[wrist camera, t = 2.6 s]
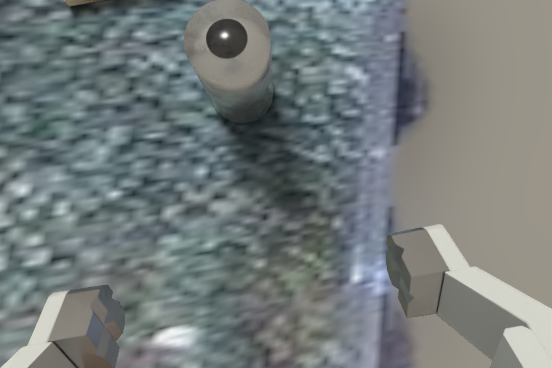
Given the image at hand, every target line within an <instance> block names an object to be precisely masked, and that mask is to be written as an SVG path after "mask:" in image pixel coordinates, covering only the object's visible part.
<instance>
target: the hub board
mask: <svg viewBox="0 0 552 368" xmlns="http://www.w3.org/2000/svg"><path fill="white" fill-rule="evenodd" d="M64 1H65V2H66V3H67V4H68V5H69V6H75V5H80V4H86V3H92V2H98V1H103V0H64Z"/></svg>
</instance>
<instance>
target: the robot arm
mask: <svg viewBox="0 0 552 368" xmlns="http://www.w3.org/2000/svg"><path fill="white" fill-rule="evenodd" d="M387 245H388V248H389V251H388V252H387V253H386V265H387V271H388V274H389V277H390V280H391V282H392V285H393V286H395V287H396V288H398V289H399V293H398V299H399V301H400V304H401V306H402V308H403V310H404V313H405V315H406V317H407V318H411V317H418V316H424V315H431V314H437V315H438V316H439V317H440V318H441V319H442V320H443V321H445V322H446V323H447V324H448V325H449V326H451V327H452V328H453V329H454V330H456V331H457V332H458V333H459V334H460V335H462V336H463V337H464V338H465V339H466V340H468V341H469V342H470V343H471V344H473V345H474V346H475V347H476V348H477V349H479V350H480V351H481V352H482V353H483V354H485V355H486V356H487V357H488V358H490V359H491V360H492V364H491V366H490V368H552V309H551V308H549V307H547V306H545V305H544V304H542V303H540V302H538V301H536V300H535V299H533V298H531V297H529V296H528V295H526V294H524V293H522V292H520V291H519V290H517V289H515V288H513V287H511V286H510V285H508V284H506V283H504V282H503V281H501V280H499V279H497V278H495V277H494V276H492V275H490V274H488V273H486V272H485V271H483V270H481V269H479V268H478V267H470V266H469V264H468V263H467V261H466V260H465V258H464V257H463V255H462V253H461V252H460V251H459V249H458V248H457V246H456V244H455V243H454V241H453V240H452V238H451V237H450V235H449V234H448V232H447V231H446V229H445V228H444V226H442V225H441V224H439V225H434V226H428V227H423V228H416V229H411V230H406V231H400V232H395V233H390V234H388V236H387ZM112 293H113V291H112V290H111V289H110V287H109V286H108V285H101V286H94V287H88V288H81V289H74V290H69V291H63V292H57V293H53V294H52V295H51V296H50V297H48V299H47V302H46V304H45V306H44V309H43V311H42V313H41V315H40V318H39V320H38V322H37V325H36V327H35V329H34V332H33V334H32V336H31V339H30V341H29V343H28V346H26V347H22V348H21V349H20V350H19V351H18V352H17V353H16V354H14V355H13V356H12V357H11V358H10V359H9V360H8V361H7V362H6V363H5V364H4V365H3V366H2V367H1V368H115V365H116V361H117V357H118V352H119V348H120V347H119V346H118V344H117V342H116V341H117V339H118V338H119V337H120V336H121V335H122V334H123V330H124V325H125V315H124V311H123V307H122V305H121V304H120V302H119V301H117V300H115V299H113V298H111V297H112Z"/></svg>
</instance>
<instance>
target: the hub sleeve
mask: <svg viewBox="0 0 552 368" xmlns="http://www.w3.org/2000/svg"><path fill="white" fill-rule="evenodd" d="M184 47H185V52H186V54H187V57H188V59H189V61H190V62H191V64H192V66H193V68H194V70H195V72H196V73H197V75H198V77H199V79H200V81H201V83H202V85H203V86H204V88H205V90H206V92H207V94H208V96H209V98H210V99H211V101H212V103H213V105H214V107H215V109H216V110H217V112H218V113H219V114H220V115H221V116H222V117H223V118H225V119H227V120H228V121H231V122H234V123H241V124H244V123H250V122H253V121H256V120H258V119H259V118H261V117H262V116H263V115H264V114H265V113H266V112H267V111H268V109H269V108H270V106H271V104H272V100H273V77H272V61H271V45H270V33H269V28H268V25H267V23H266V21H265V19H264V17H263V16H262V15H261V13H260V12H259V11H258V10H257V9H256V8H254V7H253V6H252V5H250V4H248V3H246V2H243V1H240V0H215V1H212V2H210V3H208V4H206V5H204V6H203V7H201V8H200V9H199V10H197V11H196V12H195V14H194V15H193V16H192V17H191V19H190V20H189V22H188V24H187V27H186V30H185V34H184Z"/></svg>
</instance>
